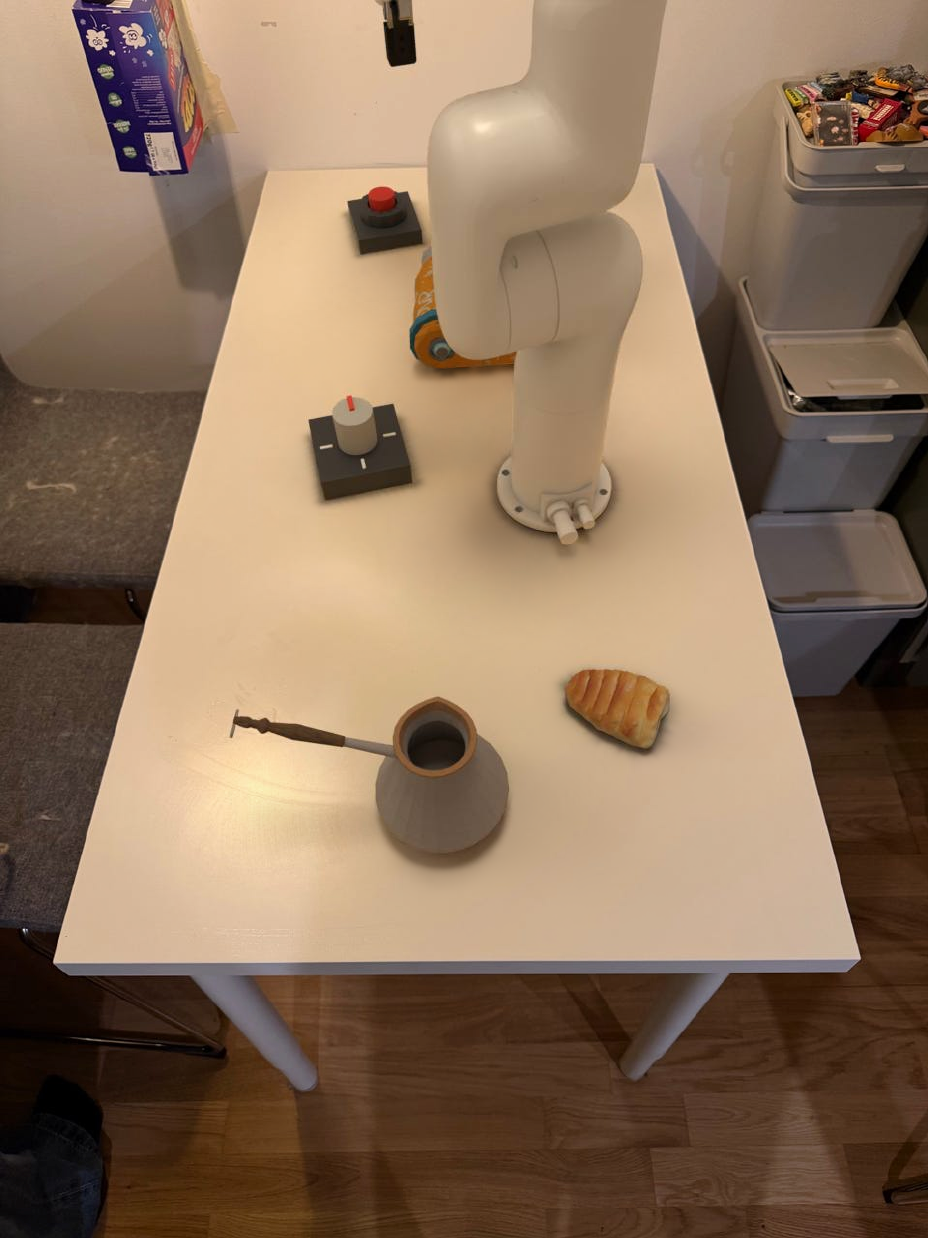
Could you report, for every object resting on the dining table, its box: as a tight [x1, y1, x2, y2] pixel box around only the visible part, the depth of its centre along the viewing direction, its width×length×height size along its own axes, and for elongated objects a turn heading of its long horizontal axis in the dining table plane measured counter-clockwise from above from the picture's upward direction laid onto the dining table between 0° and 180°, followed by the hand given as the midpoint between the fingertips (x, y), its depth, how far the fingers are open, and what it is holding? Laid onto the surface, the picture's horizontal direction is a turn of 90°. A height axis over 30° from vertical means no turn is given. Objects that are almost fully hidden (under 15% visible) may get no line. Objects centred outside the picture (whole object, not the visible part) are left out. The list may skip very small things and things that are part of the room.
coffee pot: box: [229, 696, 510, 854], centre depth 68 cm, size 21×12×15 cm, turn 87°
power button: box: [367, 185, 395, 212], centre depth 118 cm, size 4×4×2 cm
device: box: [408, 246, 517, 369], centre depth 106 cm, size 23×8×30 cm
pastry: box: [564, 668, 671, 749], centre depth 77 cm, size 9×7×4 cm
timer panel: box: [307, 403, 413, 501], centre depth 95 cm, size 10×10×3 cm
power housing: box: [346, 190, 424, 255], centre depth 120 cm, size 10×9×4 cm
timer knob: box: [331, 394, 378, 455], centre depth 92 cm, size 4×4×5 cm
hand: (401, 61), depth 97 cm, fingers closed
